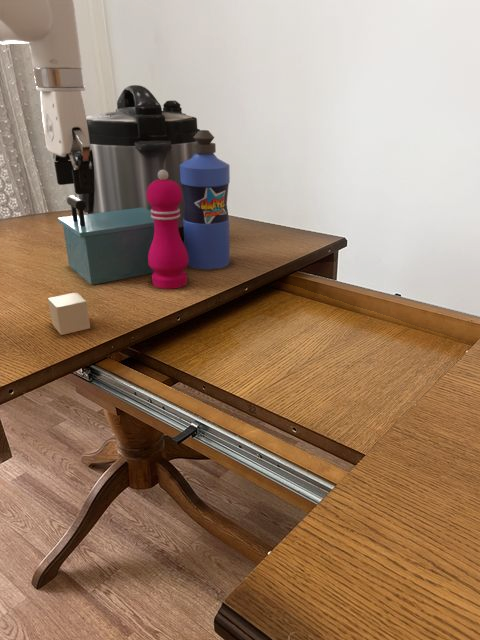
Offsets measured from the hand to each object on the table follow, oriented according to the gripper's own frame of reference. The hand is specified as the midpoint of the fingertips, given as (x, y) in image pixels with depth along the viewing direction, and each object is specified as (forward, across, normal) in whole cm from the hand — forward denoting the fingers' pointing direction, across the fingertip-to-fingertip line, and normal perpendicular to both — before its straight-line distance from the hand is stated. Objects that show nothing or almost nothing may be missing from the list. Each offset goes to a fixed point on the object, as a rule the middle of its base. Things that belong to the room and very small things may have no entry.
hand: (75, 188), depth 96 cm
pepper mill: (+16, +13, +11) cm, 23 cm away
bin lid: (+7, 0, +6) cm, 9 cm away
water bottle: (+16, +6, +23) cm, 29 cm away
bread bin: (+16, 0, +7) cm, 17 cm away
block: (+16, +22, -10) cm, 29 cm away
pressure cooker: (+16, -22, +22) cm, 35 cm away
